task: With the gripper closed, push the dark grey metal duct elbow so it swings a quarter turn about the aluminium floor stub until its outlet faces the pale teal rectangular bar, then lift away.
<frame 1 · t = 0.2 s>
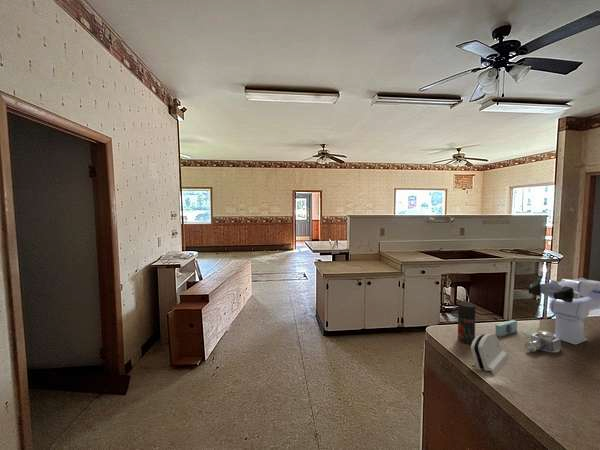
hand: (541, 293, 101), 21 cm above the worktop, tool horizontal, fingers open, 7 cm apart
deodorant: (466, 341, 110), on the worktop
elbow: (540, 342, 102), point 2 cm above the worktop, hinge at 0.0°
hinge: (488, 362, 94), on the worktop
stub: (545, 347, 104), on the worktop
pale teal rectangular bar: (506, 333, 116), on the worktop
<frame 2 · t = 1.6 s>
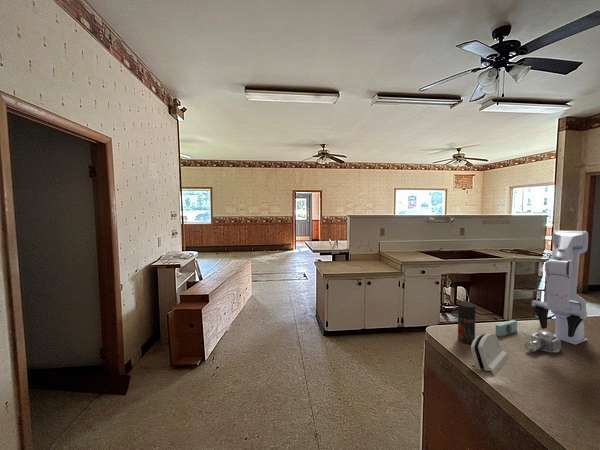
hand: (557, 332, 95), 9 cm above the worktop, tool pointing down, fingers open, 7 cm apart
nothing on the worktop moved.
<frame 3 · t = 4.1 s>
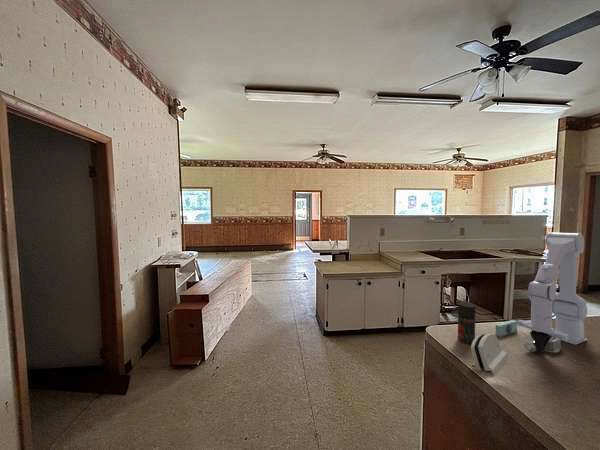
hand: (540, 352, 98), 1 cm above the worktop, tool pointing down, fingers closed, pressing on elbow
elbow: (540, 342, 102), point 2 cm above the worktop, hinge at 0.5°, touching gripper
everything else where it was.
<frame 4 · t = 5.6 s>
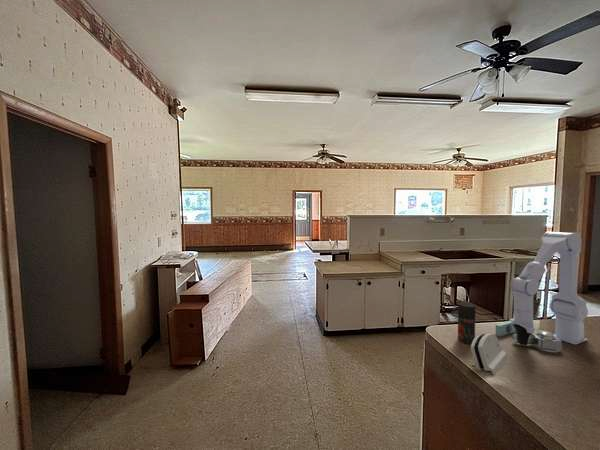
hand: (522, 344, 104), 1 cm above the worktop, tool pointing down, fingers closed, pressing on elbow
elbow: (535, 340, 104), point 2 cm above the worktop, hinge at 40.9°, touching gripper
everything else where it was.
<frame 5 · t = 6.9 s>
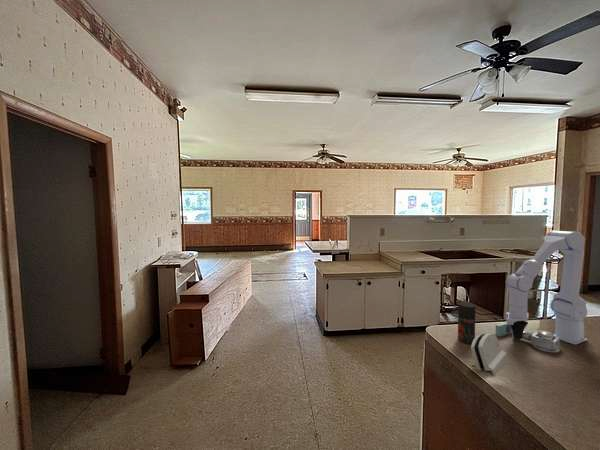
hand: (517, 338, 109), 1 cm above the worktop, tool pointing down, fingers closed, pressing on elbow
elbow: (534, 338, 106), point 2 cm above the worktop, hinge at 79.1°, touching gripper
everything else where it was.
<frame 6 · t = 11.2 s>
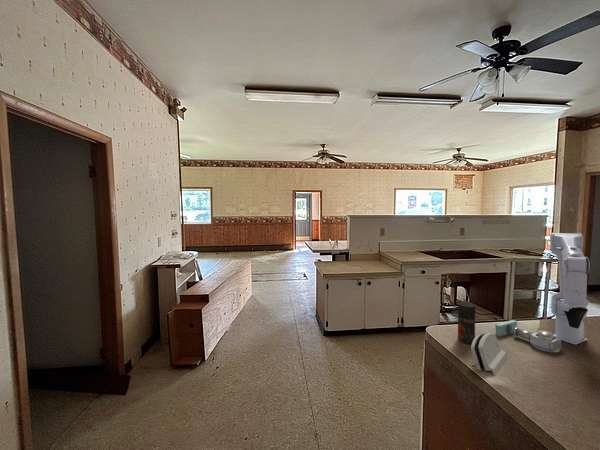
hand: (574, 327, 98), 10 cm above the worktop, tool pointing down, fingers closed
elbow: (535, 337, 106), point 2 cm above the worktop, hinge at 88.7°
everything else where it was.
at the end: elbow at +89° (first picture: +0°) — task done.
